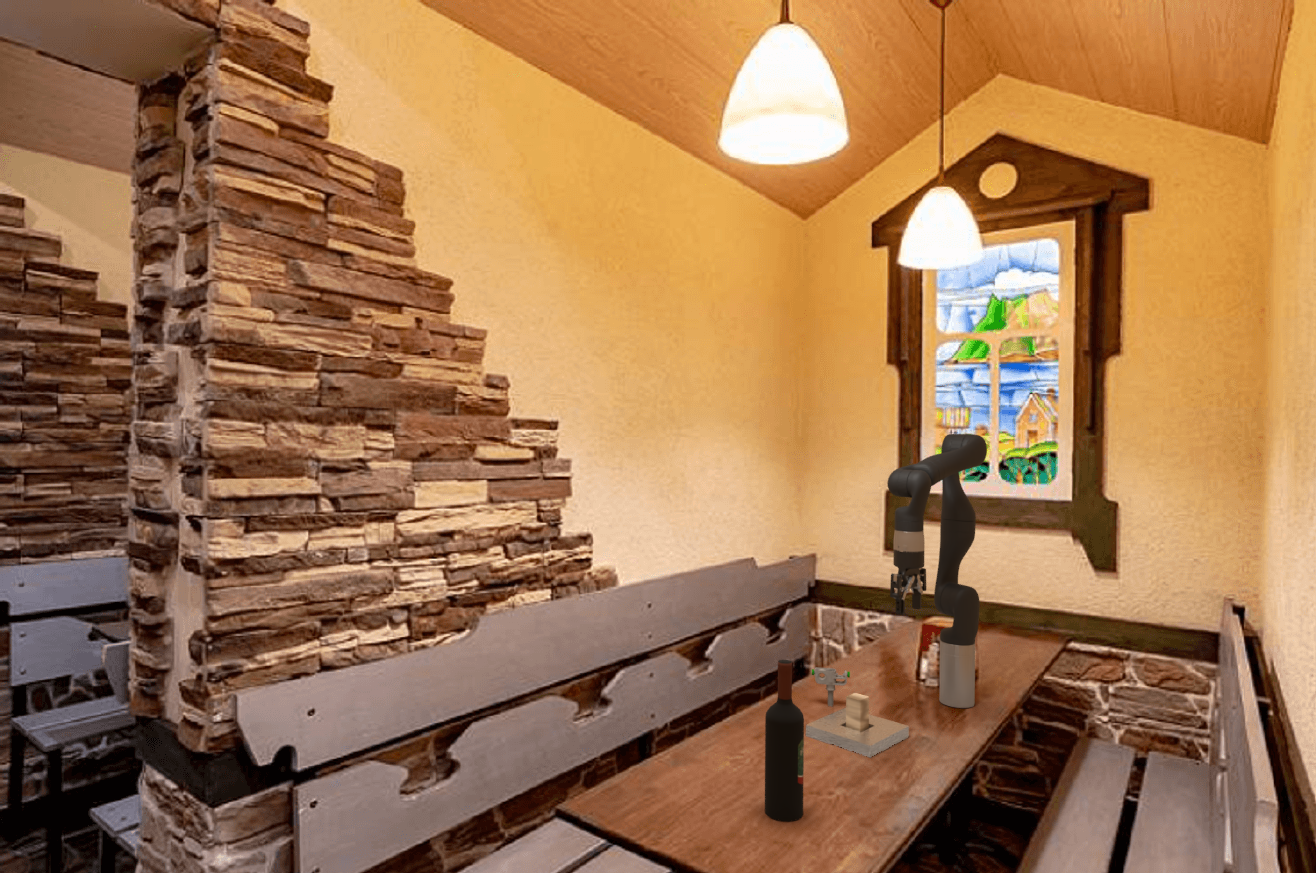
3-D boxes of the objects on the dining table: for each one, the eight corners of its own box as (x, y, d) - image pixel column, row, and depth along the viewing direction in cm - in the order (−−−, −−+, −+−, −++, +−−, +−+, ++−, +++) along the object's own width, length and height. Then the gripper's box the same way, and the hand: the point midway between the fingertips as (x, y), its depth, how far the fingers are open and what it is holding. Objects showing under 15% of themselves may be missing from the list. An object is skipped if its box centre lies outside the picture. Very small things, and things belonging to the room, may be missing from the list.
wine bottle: (760, 804, 160) (762, 656, 160) (797, 802, 161) (798, 655, 161) (769, 822, 153) (770, 667, 152) (807, 821, 153) (809, 667, 153)
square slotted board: (845, 717, 209) (845, 707, 209) (908, 737, 196) (908, 725, 196) (805, 735, 196) (805, 724, 196) (870, 757, 183) (870, 745, 183)
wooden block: (854, 732, 199) (855, 692, 199) (868, 736, 196) (869, 696, 196) (845, 736, 196) (846, 696, 196) (859, 741, 193) (860, 700, 193)
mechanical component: (849, 709, 216) (850, 672, 215) (811, 706, 218) (811, 669, 218) (849, 705, 218) (849, 669, 218) (811, 702, 220) (811, 666, 220)
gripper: (909, 543, 209) (908, 604, 209) (881, 549, 199) (880, 613, 199) (936, 546, 203) (935, 609, 204) (908, 552, 194) (908, 618, 194)
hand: (908, 611), depth 201 cm, fingers open, 8 cm apart
